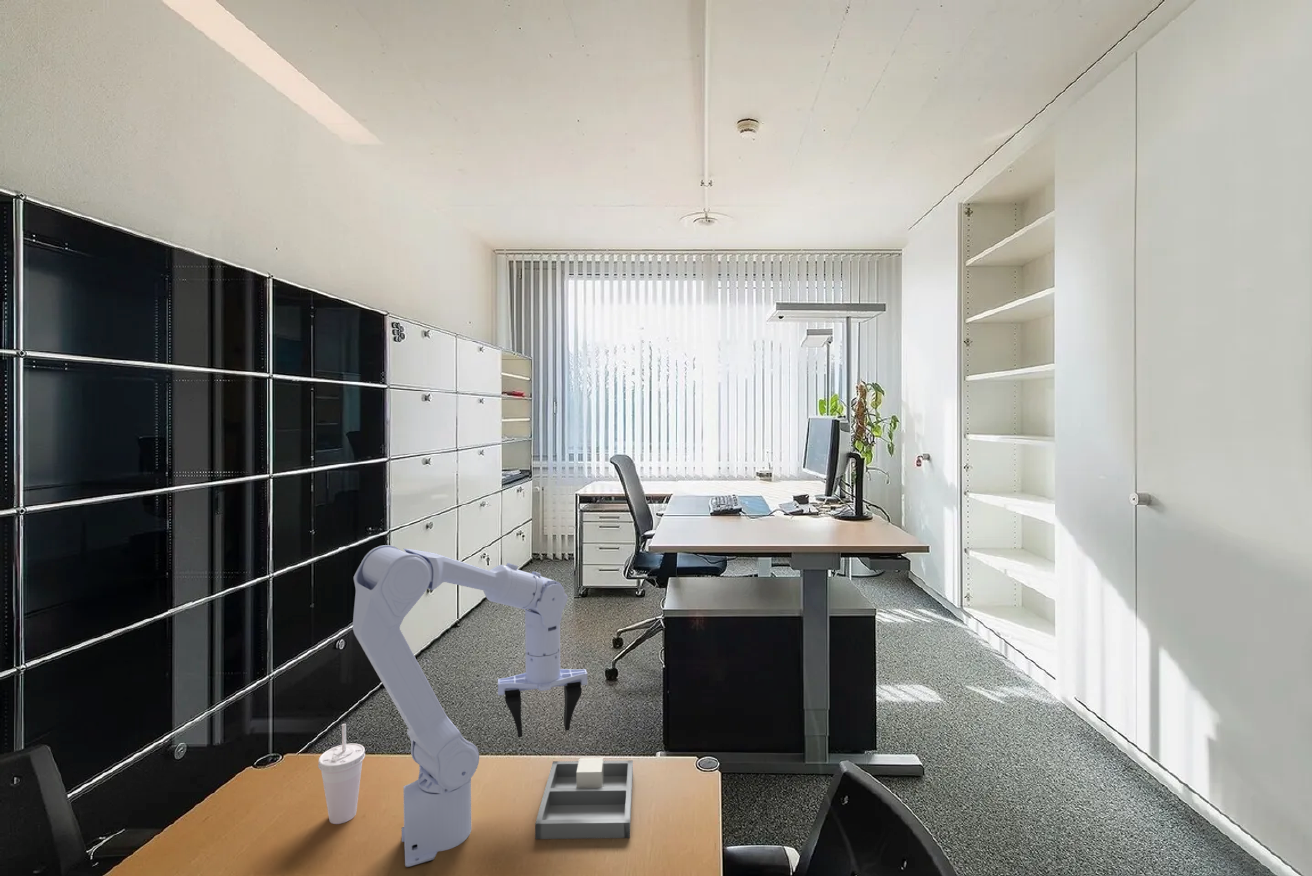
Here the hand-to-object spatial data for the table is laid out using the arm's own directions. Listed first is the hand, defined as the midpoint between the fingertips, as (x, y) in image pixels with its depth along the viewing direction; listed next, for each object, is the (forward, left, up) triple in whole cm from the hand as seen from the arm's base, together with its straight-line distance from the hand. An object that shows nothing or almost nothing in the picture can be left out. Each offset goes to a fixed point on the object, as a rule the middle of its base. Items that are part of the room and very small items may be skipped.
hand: (543, 731), depth 97 cm
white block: (+6, -5, -9) cm, 12 cm away
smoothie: (-30, +6, -10) cm, 32 cm away
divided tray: (+5, -8, -9) cm, 14 cm away
